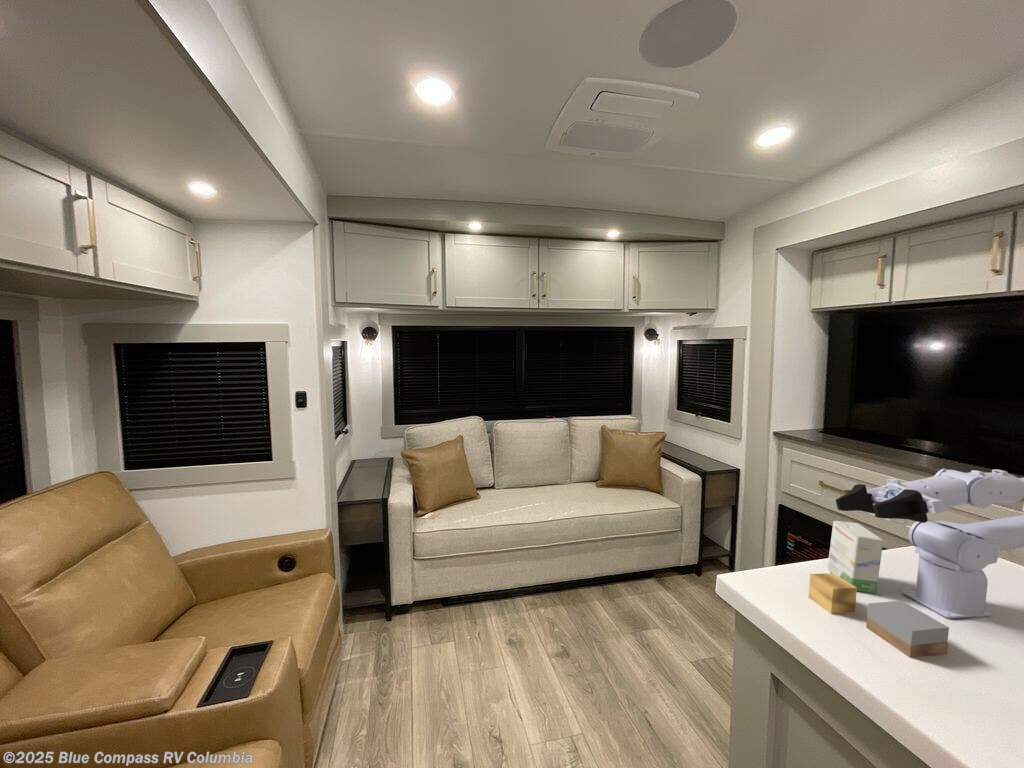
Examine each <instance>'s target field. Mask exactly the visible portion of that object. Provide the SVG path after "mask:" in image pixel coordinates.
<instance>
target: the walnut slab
mask: <svg viewBox="0 0 1024 768" xmlns="http://www.w3.org/2000/svg"><path fill="white" fill-rule="evenodd" d="M865 626H866V627H865V628H866V629H867V630H869V631H870V632H872V633H873V634H875V635H876V636H878V637H879V638H881V639H882V640H884V641H885V642H886V643H888V644H889V645H891V646H892V647H893V648H895V649H897V650H898V651H900V652H901V653H902V654H904V655H905V656H906V657H908V658H921V657H933V656H944V655H946V656H947V655H948V649H949V641H948V642H941V643H931V644H921V645H909V644H908V643H906V642H905V641H903V640H902V639H900V638H899V637H897V636H896V635H894V634H893V633H891V632H889V631H888V630H886V629H885V628H883V627H882V626H880V625H879V624H877V623H876V622H874V621H873V620H871V619H870V618H868V617H867V616H866V625H865Z"/></svg>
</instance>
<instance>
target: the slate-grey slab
mask: <svg viewBox="0 0 1024 768" xmlns="http://www.w3.org/2000/svg"><path fill="white" fill-rule="evenodd" d="M866 610H867V611H866V618H867V617H868V618H870V619H871V620H873V621H874V622H876V623H877V624H879V625H880V626H882V627H883V628H885V629H886V630H888V631H889V632H891V633H893V634H894V635H896V636H897V637H899V638H900V639H902V640H903V641H905V642H906V643H908V644H909V645H921V644H931V643H941V642H948V643H949V641H948V640H949V632H950V627H949V626H947V625H945V624H944V623H942V622H940V621H938V620H937V619H935V618H934V617H932V616H930V615H928V614H926V613H924V612H923V611H921V610H920V609H918V608H915V607H914V606H912V605H910V604H908V603H906V602H905V601H903V600H896V601H895V600H892V601H883V602H870V603H867V609H866Z"/></svg>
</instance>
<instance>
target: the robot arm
mask: <svg viewBox="0 0 1024 768" xmlns="http://www.w3.org/2000/svg"><path fill="white" fill-rule="evenodd" d="M1023 499H1024V477H1017V476H1015V475H1013V474H1010V473H1008V471H1007V470H1002V469H995V468H994V469H992V470H991V472H984V471H980V470H978V469H977V470H975V469H974V470H970V472H963V471H960V470H954V469H946V468H942V469H939V470H938V471H937V472H936V473H935V474H934V475H933V476H928V477H926V478H921V479H916V480H911V481H909V480H908V481H904V482H901V481H900V479H898V478H887V479H886V484H884V485H882V486H881V485H880V486H878V487H874V488H871V489H867V487H866V484H863V483H862V484H860V483H857V484H855V485H853V487H852V488H851V489H850V491H848V492H847V493H845V494H844V495H841V496H839V497H837V498H836V499H835V504H836V507H837V510H838V511H843V512H852V511H857V512H859V511H861V512H865V513H868V514H869V513H870V514H873V515H874V517H875V518H878V519H886V520H887V519H892V520H893V519H895V520H896V519H898V520H901V519H902V520H909V521H913V522H914V523H913V524H912V525H911V526H910V528H909V531H908V539H909V542H910V544H911V545H912V546H913V547H914V548H915V551H914V552H915V553H916V554H918V555H919V556H918V565H917V575H916V586H915V589H913V590H903V591H902V594H903V595H905V596H907V597H909V598H910V599H912V600H914V601H916V602H917V603H919V604H921V605H923V606H925V607H927V608H928V609H930V610H932V611H934V612H936V613H938V614H940V615H941V616H943V617H944V618H947V619H960V618H963V619H964V618H976V617H990V616H991V612H990V611H988V610H985V609H986V604H987V603H986V601H987V594H988V593H987V592H988V583H989V582H988V581H989V580H988V578H987V574H985V572H984V570H983V569H985V568H986V567H987V566H989V565H992V564H996V563H997V562H998V558H999V553H1000V552H1002V551H1007V550H1013V549H1014V550H1015V549H1020V548H1024V514H1021V515H1014V516H1008V517H1002V518H997V519H995V518H994V519H989V520H983V521H977V522H970V523H965V524H963V523H957V522H956V523H955V522H951V521H945V520H935V521H934V520H930V518H929V519H928V515H927V514H928V513H930V514H934V515H936V514H941V513H944V512H945V513H946V510H945V509H947V508H952V507H953V508H954V507H957V506H963V505H968V506H971V507H977V508H981V509H987V508H989V507H990V506H992V505H993V504H1003V503H1004V504H1005V503H1006V504H1007V503H1008V504H1009V503H1010V504H1012V503H1018V502H1019V501H1021V500H1023ZM1021 510H1022V512H1024V504H1023V505H1022V509H1021Z"/></svg>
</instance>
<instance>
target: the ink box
mask: <svg viewBox="0 0 1024 768" xmlns="http://www.w3.org/2000/svg"><path fill="white" fill-rule="evenodd" d="M883 544H884V539H882V538H881V537H879V536H877V535H876V534H875V533H873V532H871V531H870V530H869V529H867V528H865V527H864V526H863V525H861V524H860V523H857V522H850V521H841V520H833V522H832V530H831V538H830V544H829V545H830V546H829V552H828V553H829V554H828V559H827V560H828V561H827V568H828V569H829V570H830V571H831V572H832V573H834V574H835V575H837V576H839V577H840V578H842V579H843V580H845V581H847V582H848V583H850V584H852V585H853V586H855V587H857V592H864V593H871V594H877V590H878V581H879V575H880V569H881V568H880V567H881V560H882V554H883V546H884V545H883ZM828 569H827V570H828ZM829 570H828V571H829ZM830 571H829V572H830ZM831 572H830V573H831Z"/></svg>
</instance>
